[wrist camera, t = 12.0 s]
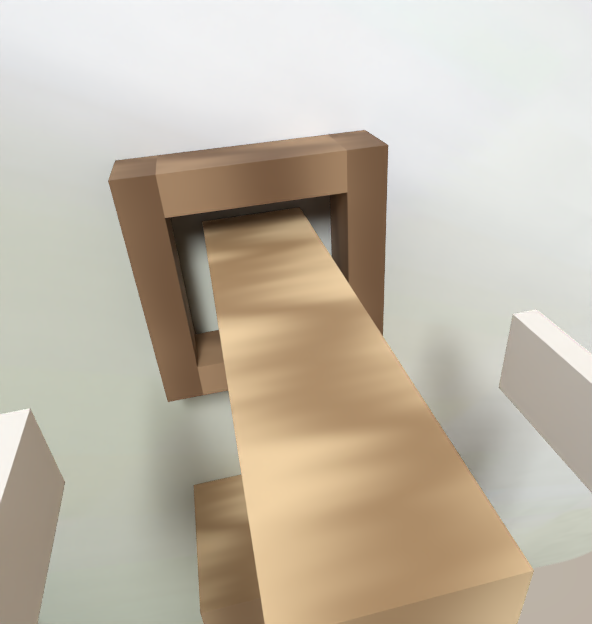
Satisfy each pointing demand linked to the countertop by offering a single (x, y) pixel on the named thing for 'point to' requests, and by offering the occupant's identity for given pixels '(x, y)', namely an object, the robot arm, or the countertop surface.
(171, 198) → the collar block
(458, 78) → the countertop surface
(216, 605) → the short pin
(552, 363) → the robot arm
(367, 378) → the long pin
